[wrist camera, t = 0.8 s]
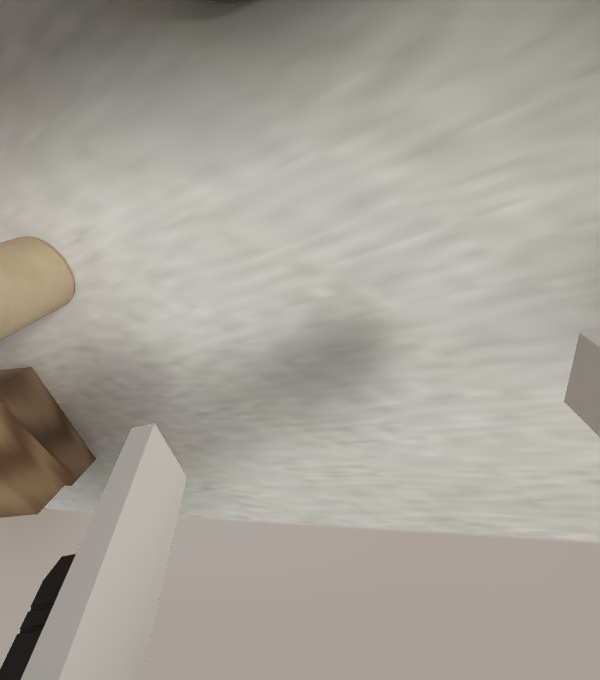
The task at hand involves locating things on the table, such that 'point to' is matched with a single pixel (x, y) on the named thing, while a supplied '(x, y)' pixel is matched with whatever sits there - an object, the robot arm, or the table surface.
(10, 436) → the tower top
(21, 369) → the tower base
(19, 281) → the candle
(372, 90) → the table surface
